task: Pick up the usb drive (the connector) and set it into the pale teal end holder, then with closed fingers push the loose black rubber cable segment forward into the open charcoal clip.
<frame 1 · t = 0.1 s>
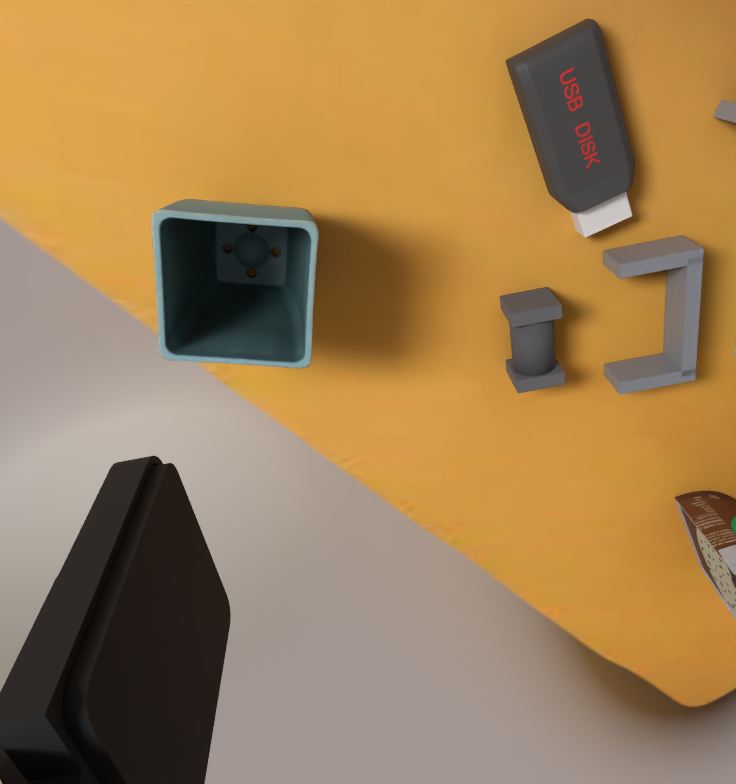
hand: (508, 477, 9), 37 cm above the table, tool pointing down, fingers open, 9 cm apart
flower pot: (251, 246, 45), on the table
usb drive: (571, 134, 43), on the table
food container: (720, 518, 59), on the table
clip b: (635, 310, 49), on the table
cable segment: (526, 330, 49), on the table
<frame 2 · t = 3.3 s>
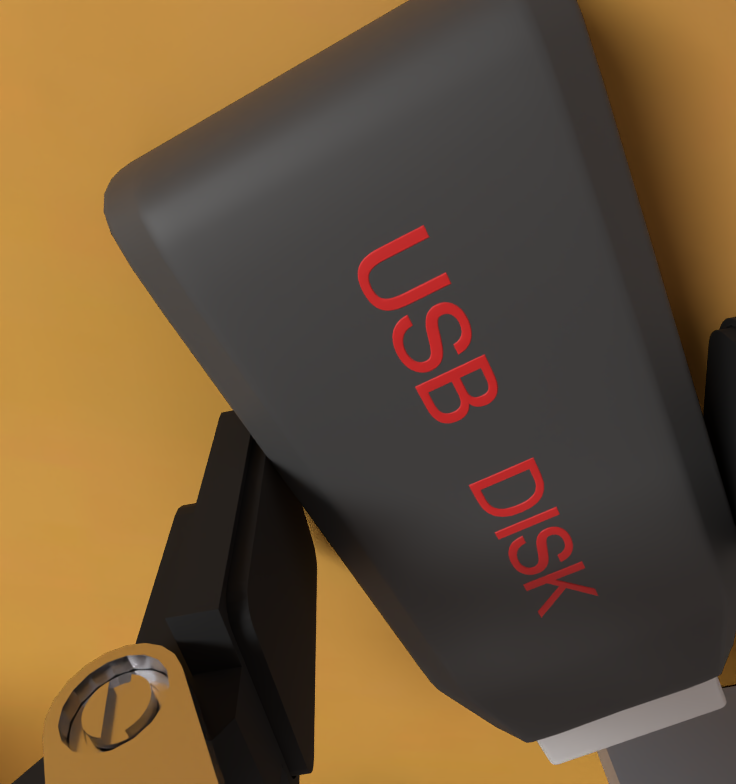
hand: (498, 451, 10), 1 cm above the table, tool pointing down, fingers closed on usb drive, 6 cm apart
usb drive: (485, 419, 11), on the table, touching gripper
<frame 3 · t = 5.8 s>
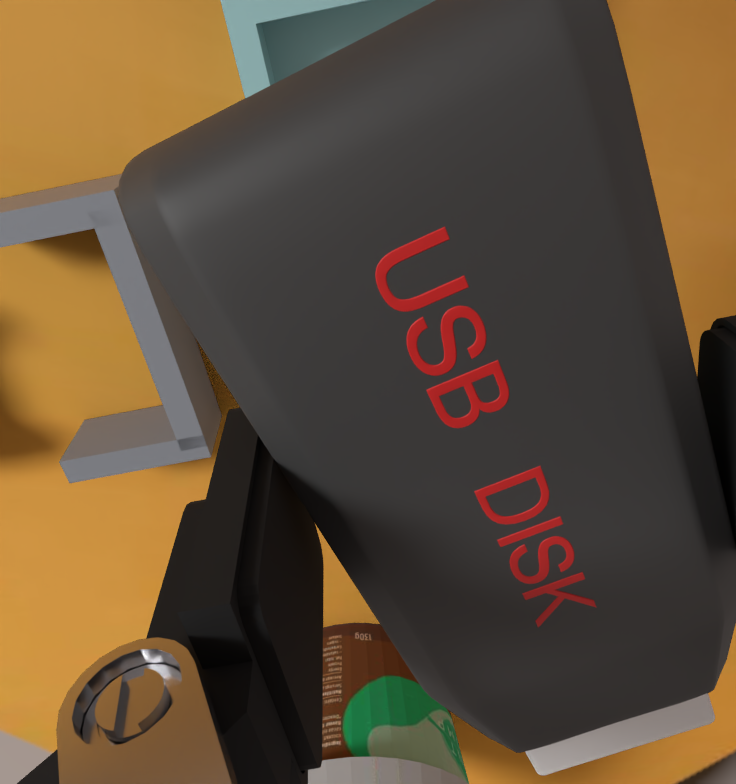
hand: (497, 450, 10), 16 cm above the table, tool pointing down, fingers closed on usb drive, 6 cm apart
usb drive: (487, 425, 11), point 15 cm above the table, touching gripper
food container: (399, 661, 36), on the table
clip b: (102, 321, 25), on the table
end holder: (404, 207, 24), on the table
when the fingers open (3 cm above the table, at t = 8.6 s): usb drive stays where it is, resting on end holder.
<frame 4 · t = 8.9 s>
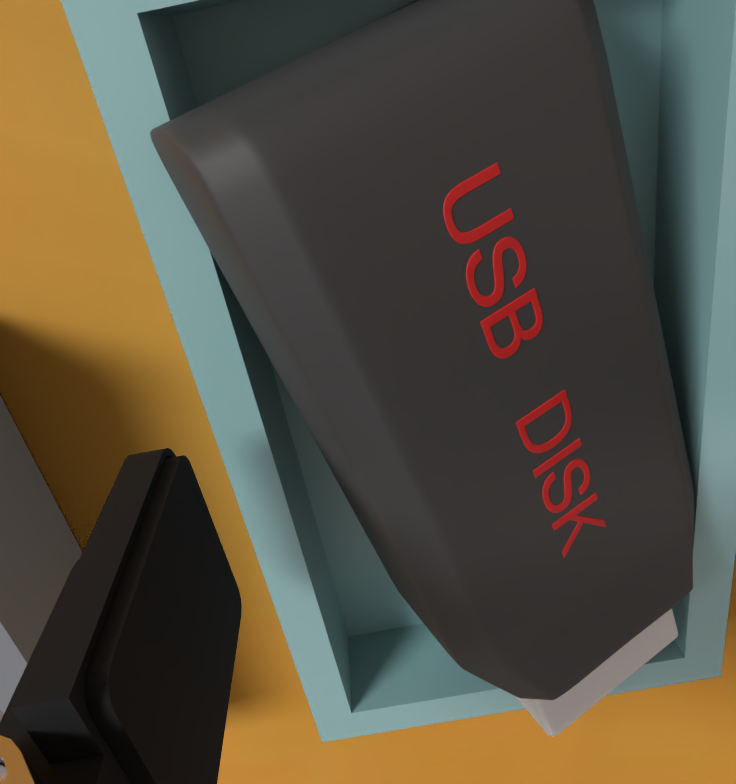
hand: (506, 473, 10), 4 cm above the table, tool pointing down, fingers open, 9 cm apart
usb drive: (458, 400, 12), point 1 cm above the table, touching end holder
end holder: (460, 357, 13), on the table
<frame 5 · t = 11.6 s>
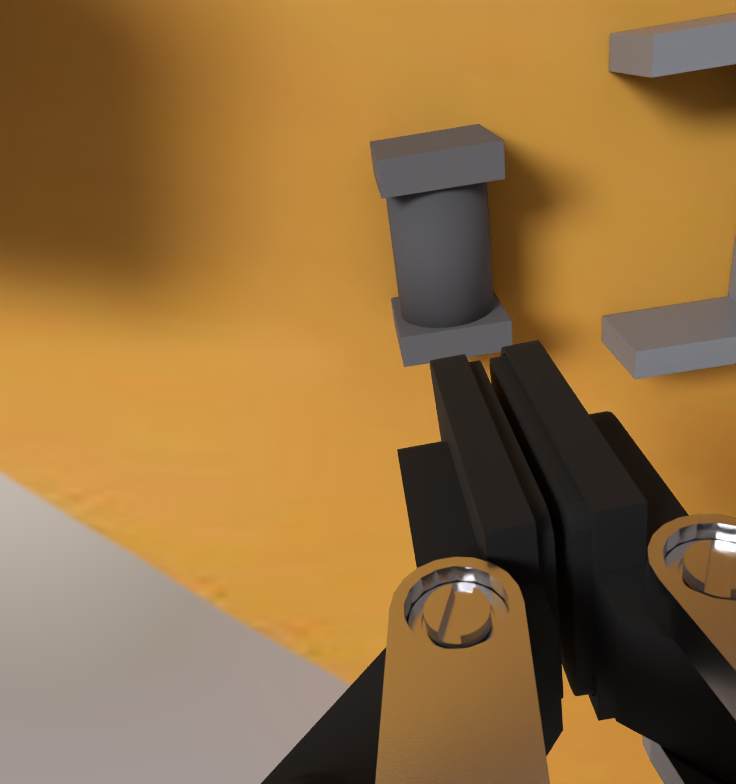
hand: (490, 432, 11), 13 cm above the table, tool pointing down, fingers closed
clip b: (675, 193, 22), on the table
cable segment: (433, 231, 22), on the table
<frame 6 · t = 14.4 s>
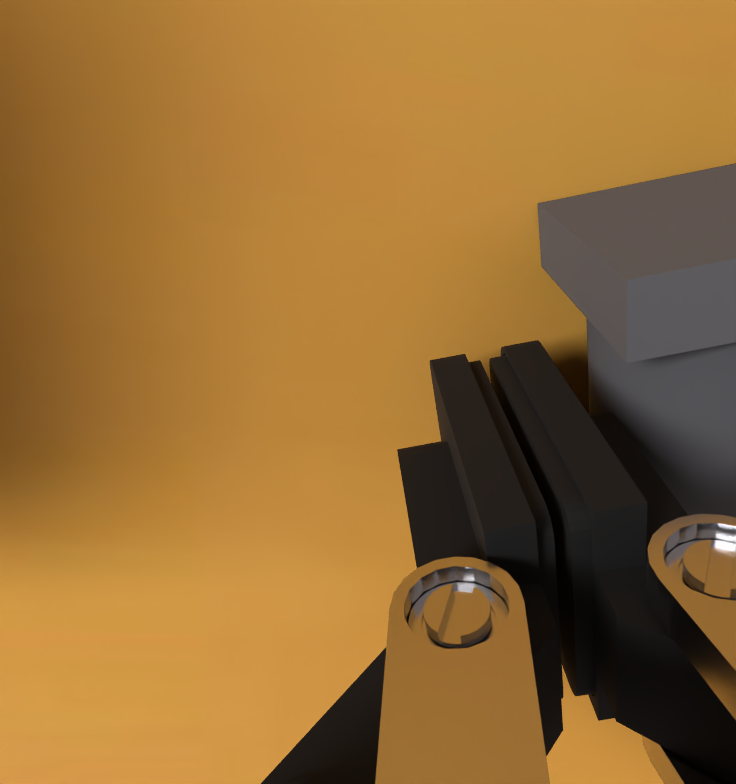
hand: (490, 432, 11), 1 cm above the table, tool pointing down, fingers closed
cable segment: (647, 363, 11), on the table, touching gripper
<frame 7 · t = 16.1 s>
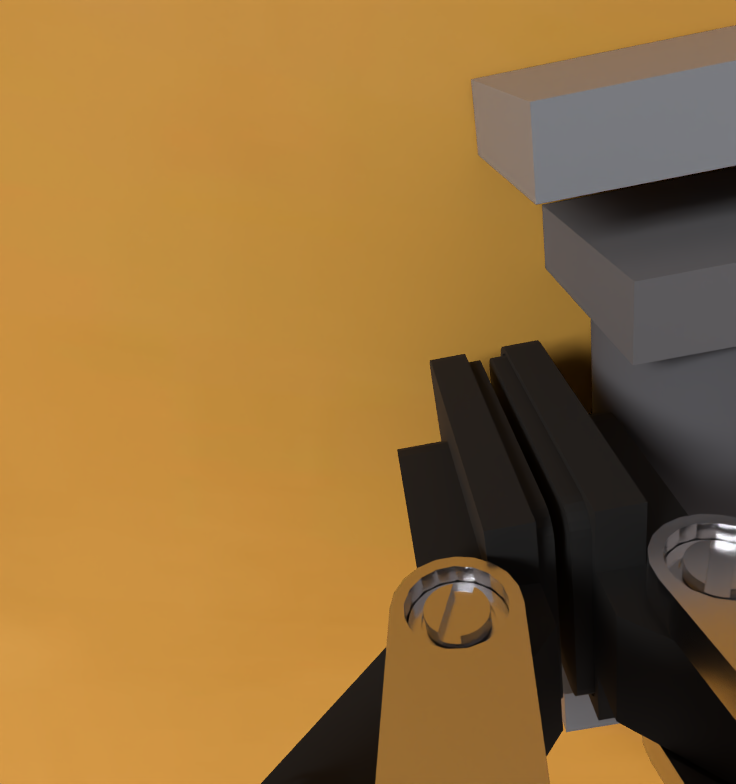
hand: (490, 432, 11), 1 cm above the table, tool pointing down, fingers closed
clip b: (634, 369, 11), on the table
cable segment: (650, 365, 11), on the table, touching gripper
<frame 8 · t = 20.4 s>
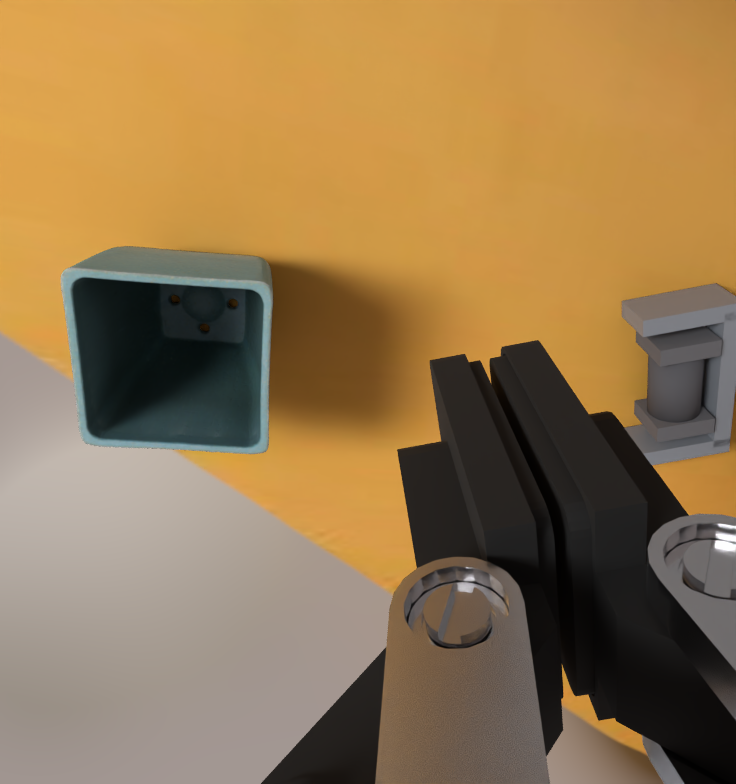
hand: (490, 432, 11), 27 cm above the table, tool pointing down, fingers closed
flower pot: (204, 296, 38), on the table
clip b: (658, 368, 41), on the table
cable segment: (662, 366, 41), on the table
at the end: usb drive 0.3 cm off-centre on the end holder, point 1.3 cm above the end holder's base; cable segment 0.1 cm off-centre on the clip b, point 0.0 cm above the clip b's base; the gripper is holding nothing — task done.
